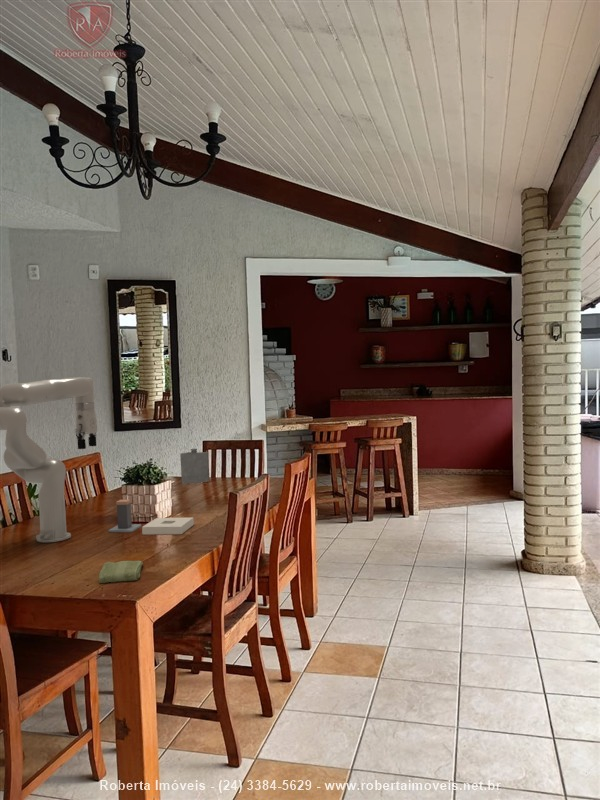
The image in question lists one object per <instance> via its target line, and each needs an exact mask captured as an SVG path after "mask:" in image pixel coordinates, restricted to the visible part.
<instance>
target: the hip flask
mask: <svg viewBox="0 0 600 800" xmlns="http://www.w3.org/2000/svg"><path fill="white" fill-rule="evenodd" d="M179 457H180V473H181V474H180V475H181V477H180V478H181V484H182V485H187V484H186V483H201V482H207V481H211V480H210V479H211V478H210V460H209V459H210V457H209V452H208V451H204V452H203V451H202V452H201V451H200V452H198V448H190V451H188V452H181V453H180V456H179ZM201 484H202V483H201Z"/></svg>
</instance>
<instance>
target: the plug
mask: <svg viewBox="0 0 600 800" xmlns="http://www.w3.org/2000/svg"><path fill="white" fill-rule="evenodd" d="M131 502H132V501H131V499H119V500H117V501H116V503H115V505H116V514H117V515H116V517H117V525H118V529H126V528H129V527H131V526H132V524H133V522H132V506H131Z"/></svg>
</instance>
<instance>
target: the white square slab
mask: <svg viewBox="0 0 600 800" xmlns="http://www.w3.org/2000/svg"><path fill="white" fill-rule="evenodd" d="M194 524H195V521H194V517H156V518H154V519H153V520H151V521H149V522H148V523H146V524H144V525H143V526H141V529H142V530H141V532H142V535H143V536H145V535H151V536H152V535H183V534H184V533H185V532H187V530H189V529H190V528H191V527H193V526H194Z"/></svg>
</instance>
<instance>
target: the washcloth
mask: <svg viewBox="0 0 600 800" xmlns="http://www.w3.org/2000/svg"><path fill="white" fill-rule="evenodd" d="M143 565H144V562H143V561H141V560H121V561H117V562H112V561H107V562H104V564H103V565H102V568H101V570H100V571H99V573H98V582H99V584H108V583H109V582H111V583H117V582H118V583H119V582H132V581H133V582H135V581H138V580H139V579H140V578H141V571H142V567H143Z"/></svg>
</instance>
